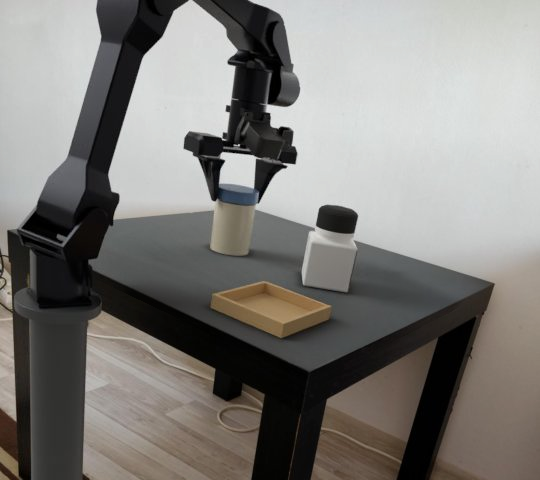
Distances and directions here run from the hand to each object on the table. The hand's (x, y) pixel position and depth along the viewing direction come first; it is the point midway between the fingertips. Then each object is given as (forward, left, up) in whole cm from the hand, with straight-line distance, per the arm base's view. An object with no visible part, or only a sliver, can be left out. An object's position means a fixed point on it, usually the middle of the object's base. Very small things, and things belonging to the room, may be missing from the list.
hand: (235, 202), depth 98 cm
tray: (-10, -28, -8) cm, 31 cm away
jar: (0, 0, -8) cm, 8 cm away
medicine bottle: (+7, -18, -9) cm, 21 cm away
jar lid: (0, 0, +2) cm, 2 cm away
